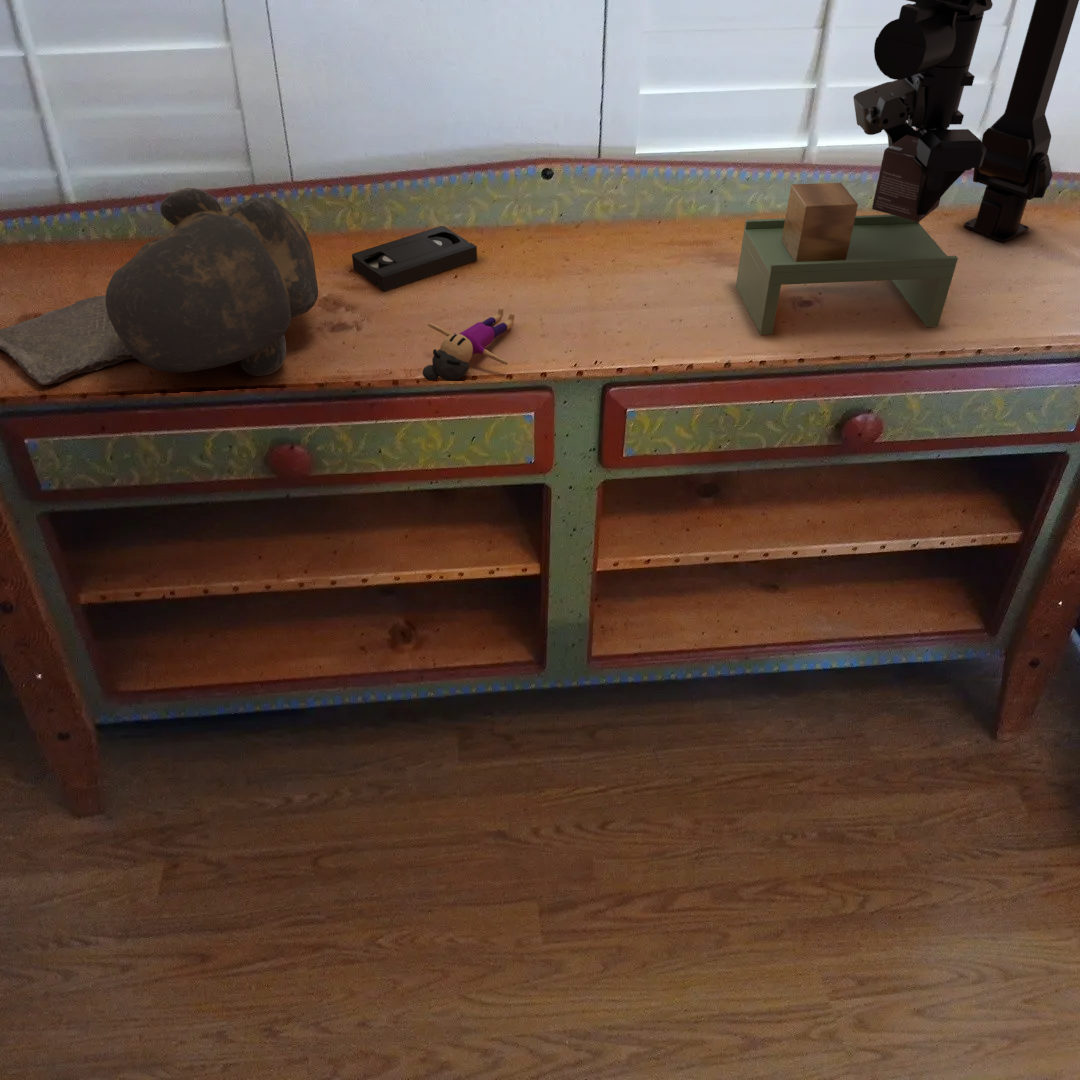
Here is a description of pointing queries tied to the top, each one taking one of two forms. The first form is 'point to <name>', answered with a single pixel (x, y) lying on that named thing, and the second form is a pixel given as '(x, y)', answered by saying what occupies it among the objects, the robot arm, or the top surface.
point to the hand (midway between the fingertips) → (907, 199)
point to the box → (900, 181)
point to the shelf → (846, 266)
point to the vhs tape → (413, 258)
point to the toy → (465, 347)
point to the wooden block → (819, 222)
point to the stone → (65, 342)
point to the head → (214, 286)
